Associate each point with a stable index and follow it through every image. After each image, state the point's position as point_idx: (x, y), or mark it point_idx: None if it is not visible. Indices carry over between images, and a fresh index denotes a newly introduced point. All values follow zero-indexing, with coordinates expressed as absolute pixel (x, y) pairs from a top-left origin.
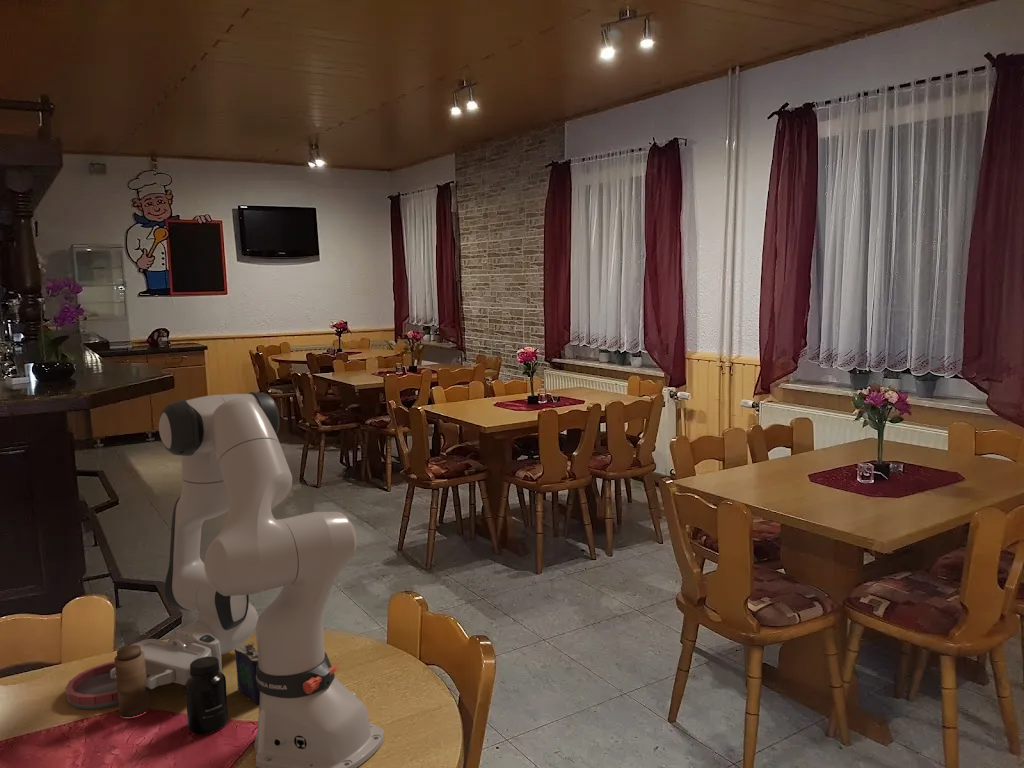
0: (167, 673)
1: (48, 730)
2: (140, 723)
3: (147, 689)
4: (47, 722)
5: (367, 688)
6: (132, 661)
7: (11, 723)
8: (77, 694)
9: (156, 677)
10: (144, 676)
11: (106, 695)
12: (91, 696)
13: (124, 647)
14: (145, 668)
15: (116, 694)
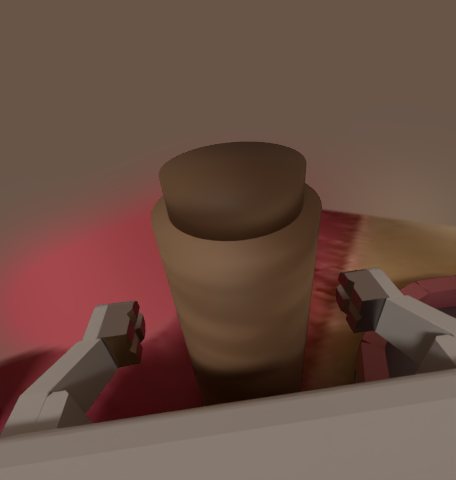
0: (33, 386)
1: (337, 247)
2: (166, 360)
3: (208, 390)
4: (381, 255)
5: None
6: (163, 198)
7: (430, 226)
8: (443, 284)
9: (86, 334)
10: (183, 327)
11: None
12: None
13: (297, 161)
14: (190, 320)
15: (360, 358)
